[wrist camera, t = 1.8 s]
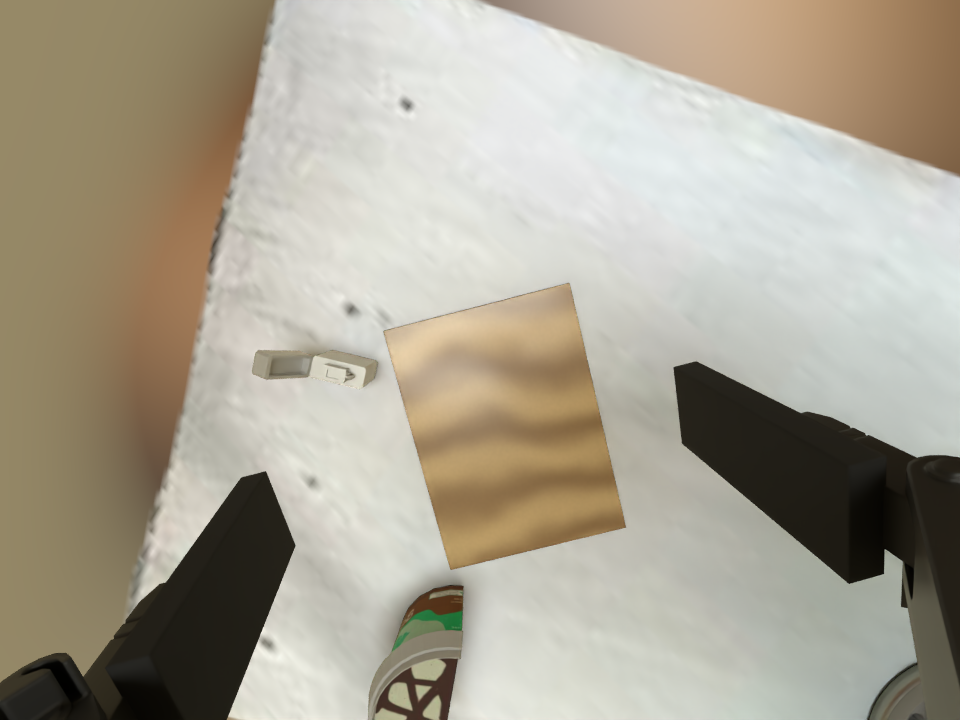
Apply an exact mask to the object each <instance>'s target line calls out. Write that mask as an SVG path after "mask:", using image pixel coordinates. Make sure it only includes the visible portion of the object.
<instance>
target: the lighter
mask: <svg viewBox="0 0 960 720" xmlns="http://www.w3.org/2000/svg"><path fill="white" fill-rule="evenodd" d="M377 365H378V362H377V361H376V360H372V359H368V358H364V357H360V356H356V355H351V354H347V353H343V352H339V351H335V350H331V351H328V352H325V353H322V354H319V355H316V356H314V357H313V356H312V355H310V354H307V353H304V352H301V351H270V350H258V351H257V352H256V353H255V358H254V363H253V368H252V373H253V374H254V375H256V376H259V377H261V378H264V379H266V380H268V379H286V378H304V377H308V376H309V375H310V377H311V378H315V379H319V380H323V381H327V382H331V383H335V384H340V385H344V386H348V387H352V388H356V389H361V388H363V387H364V386H365V385H367V384H368V383H369V382H371V381H372V380H373V379H374V378H375V374H376V369H377Z"/></svg>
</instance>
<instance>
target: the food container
mask: <svg viewBox="0 0 960 720" xmlns="http://www.w3.org/2000/svg"><path fill="white" fill-rule="evenodd" d="M463 588H464V586H452V585H450V586H445V587H440V588H435V589H432V590H431V591H429V592H427V593H425V594H423V595H421V596H419V597H418V599H417V600H416V601H415V602H414V603H413V604H412V605H411V606H410V607H409V608H408V610H407V612H406V614H405V616H404V618H403V621H402V624H401V627H400V630H399V633H398V635H397V638H396V641H395V644H394V647H393V650H392V652H391V654H390V655H389V656H388V657H387V658H386V659H385V660H384V661H383V662H382V664H381V666H380V667H379V669H378V670H377V672H376V674H375V676H374V679H373V681H372V684H371V688H370V692H369V703H368V720H447V719H448V713H449V707H450V701H451V696H452V690H453V684H454V679H455V673H456V667H457V660H458V659H461V650H462V639H463V631H462V616H463Z"/></svg>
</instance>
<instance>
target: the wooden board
mask: <svg viewBox="0 0 960 720" xmlns="http://www.w3.org/2000/svg"><path fill="white" fill-rule="evenodd" d="M383 332H384V335H385V339H386V342H387V346H388V349H389V353H390V357H391V360H392V364H393V367H394V371H395V374H396V378H397V381H398V385H399V389H400V392H401V396H402V399H403V403H404V406H405V410H406V413H407V417H408V421H409V424H410V428H411V431H412V435H413V438H414V442H415V445H416V449H417V453H418V456H419V460H420V463H421V467H422V470H423V474H424V477H425V481H426V485H427V488H428V492H429V495H430V499H431V502H432V506H433V509H434V513H435V516H436V520H437V524H438V527H439V531H440V534H441V538H442V541H443V545H444V548H445V552H446V556H447V559H448V563H449V566H450V570H452V569H457V568H461V567H465V566H469V565H473V564H477V563H481V562H485V561H490V560H494V559H498V558H502V557H506V556H510V555H514V554H518V553H523V552H527V551H531V550H535V549H539V548H543V547H547V546H552V545H556V544H560V543H564V542H568V541H572V540H576V539H580V538H585V537H589V536H593V535H597V534H601V533H605V532H609V531H613V530H618V529H622V528H626V526H625V522H624V517H623V513H622V509H621V504H620V500H619V496H618V491H617V487H616V483H615V478H614V474H613V470H612V465H611V461H610V457H609V452H608V448H607V444H606V439H605V435H604V431H603V426H602V422H601V418H600V413H599V409H598V405H597V400H596V396H595V392H594V387H593V383H592V379H591V374H590V370H589V366H588V361H587V357H586V353H585V348H584V344H583V340H582V335H581V331H580V327H579V322H578V318H577V314H576V309H575V305H574V301H573V296H572V292H571V288H570V283H567V284H564V285H560V286H556V287H552V288H548V289H544V290H540V291H536V292H533V293H529V294H525V295H521V296H517V297H513V298H509V299H505V300H502V301H498V302H494V303H490V304H486V305H482V306H478V307H474V308H471V309H467V310H463V311H459V312H455V313H451V314H447V315H443V316H440V317H436V318H432V319H428V320H424V321H420V322H416V323H412V324H409V325H405V326H401V327H397V328H393V329H389V330H385V331H383Z"/></svg>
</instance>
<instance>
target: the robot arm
mask: <svg viewBox="0 0 960 720" xmlns="http://www.w3.org/2000/svg"><path fill="white" fill-rule="evenodd" d="M674 376H675V385H676V393H677V402H678V411H679V420H680V429H681V438H682V444H683V445H684V446H686V447H687V448H688V449H689V450H690V451H692V452H693V453H694V454H695V455H696V456H698V457H699V458H700V459H701V460H702V461H703V462H705V463H706V464H707V465H708V466H709V467H711V468H712V469H713V470H714V471H715V472H717V473H718V474H719V475H720V476H721V477H723V478H724V479H725V480H726V481H727V482H728V483H730V484H731V485H732V486H733V487H734V488H736V489H737V490H738V491H739V492H740V493H742V494H743V495H744V496H745V497H746V498H747V499H749V500H750V501H751V502H752V503H753V504H755V505H756V506H757V507H758V508H759V509H761V510H762V511H763V512H764V513H765V514H767V515H768V516H769V517H770V518H771V519H772V520H774V521H775V522H776V523H777V524H778V525H780V526H781V527H782V528H783V529H784V530H786V531H787V532H788V533H789V534H790V535H792V536H793V537H794V538H795V539H796V540H797V541H799V542H800V543H801V544H802V545H803V546H805V547H806V548H807V549H808V550H809V551H811V552H812V553H813V554H814V555H815V556H817V557H818V558H819V559H820V560H821V561H822V562H824V563H825V564H826V565H827V566H828V567H830V568H831V569H832V570H833V571H834V572H836V573H837V574H838V575H839V576H840V577H841V578H843V579H844V580H845V581H846V582H847V583H849V584H850V583H854V582H857V581H861V580H864V579H868V578H872V577H875V576H879V575H882V574H884V550H885V549H886V550H887V551H889V552H890V553H892V554H893V555H895V556H896V557H897V558H899V559H900V560H902V561H903V570H902V596H901V607H904V608H908V612H909V617H910V623H911V628H912V634H913V640H914V645H915V651H916V657H917V662H918V665H916V666H914V667H912V668H910V669H908V670H907V671H905V672H904V673H902V674H901V675H900V676H898V677H897V678H896V679H895V680H894V681H893V682H892V683H891V684H890V685H889V686H888V687H887V688H886V689H885V690H884V691H883V693H882V694H881V696H880V697H879V699H878V700H877V702H876V704H875V706H874V708H873V710H872V713H871V716H870V719H869V720H960V457H953V456H946V455H929V456H923V457H918V458H916V457H914V456H912V455H910V454H908V453H906V452H904V451H902V450H899V449H897V448H895V447H893V446H891V445H889V444H887V443H885V442H882V441H880V440H878V439H876V438H874V437H872V436H870V435H867V436H866V435H865V433H863V432H861V431H859V430H857V429H855V428H850V426H848V425H846V424H844V423H842V422H840V421H838V420H836V419H834V418H831V417H828V416H823V415H819V414H815V413H811V412H804V413H799V412H797V411H795V410H793V409H791V408H789V407H787V406H785V405H783V404H781V403H779V402H777V401H775V400H773V399H771V398H769V397H767V396H765V395H763V394H761V393H759V392H757V391H755V390H753V389H751V388H749V387H747V386H745V385H743V384H741V383H739V382H737V381H735V380H733V379H731V378H729V377H727V376H725V375H723V374H721V373H719V372H717V371H715V370H713V369H711V368H709V367H707V366H705V365H703V364H701V363H699V362H697V361H696V362H692V363H688V364H684V365H680V366H676V367H674ZM294 548H295V543H294V541H293V538H292V536H291V533H290V530H289V528H288V525H287V523H286V520H285V518H284V515H283V513H282V510H281V508H280V505H279V503H278V500H277V498H276V495H275V493H274V490H273V488H272V485H271V483H270V480H269V478H268V475H267V473H266V471H265V472H261V473H257V474H254V475H250V476H246V477H242V478H241V479H240V480H239V481H238V483H237V484H236V486H235V487H234V488H233V490H232V491H231V492H230V494H229V495H228V497H227V498H226V499H225V501H224V502H223V504H222V505H221V506H220V508H219V509H218V511H217V512H216V513H215V515H214V516H213V518H212V519H211V520H210V522H209V523H208V525H207V526H206V527H205V529H204V530H203V532H202V533H201V534H200V536H199V537H198V539H197V540H196V541H195V543H194V544H193V546H192V547H191V548H190V550H189V551H188V553H187V554H186V555H185V557H184V558H183V559H182V561H181V562H180V564H179V565H178V566H177V568H176V569H175V571H174V572H173V573H172V575H171V576H170V578H169V579H168V580H167V582H166V583H162V584H159V585H158V586H157V587H156V588H155V589H154V590H153V591H151V592H150V593H149V594H148V595H147V596H146V597H145V598H144V599H142V600H141V601H140V602H139V603H138V605H137V606H136V607H135V609H134V610H133V611H132V613H131V614H130V615H129V617H128V618H127V619H126V623H125V624H123V625H122V626H121V627H120V629H119V630H118V631H117V633H116V634H115V635H114V639H113V640H111V641H110V642H109V643H108V645H107V646H106V647H105V649H104V650H103V651H102V653H101V654H100V655H99V657H98V658H97V659H96V661H95V662H94V663H93V665H92V666H91V668H90V669H89V670H88V671H87V673H86V674H85V675H84V677H83V676H82V674H81V673H80V671H79V670H78V668H77V666H76V664H75V663H74V661H73V660H72V658H71V657H70V656H69V655H68V654H67V653H55V654H51V655H48V656H46V657H43V658H40V659H38V660H36V661H34V662H32V663H30V664H28V665H26V666H24V667H22V668H21V669H19V670H18V671H16V672H15V673H13V674H12V675H11V676H9V677H7V678H6V679H5V680H3V681H2V682H1V683H0V720H227V718H228V715H229V713H230V710H231V708H232V705H233V703H234V700H235V697H236V695H237V692H238V690H239V687H240V685H241V682H242V680H243V677H244V675H245V672H246V670H247V667H248V665H249V662H250V659H251V657H252V654H253V652H254V649H255V647H256V644H257V642H258V639H259V637H260V634H261V632H262V629H263V627H264V624H265V621H266V619H267V616H268V614H269V611H270V609H271V606H272V604H273V601H274V599H275V596H276V594H277V591H278V589H279V586H280V584H281V581H282V578H283V576H284V573H285V571H286V568H287V566H288V563H289V561H290V558H291V556H292V553H293V551H294Z"/></svg>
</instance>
